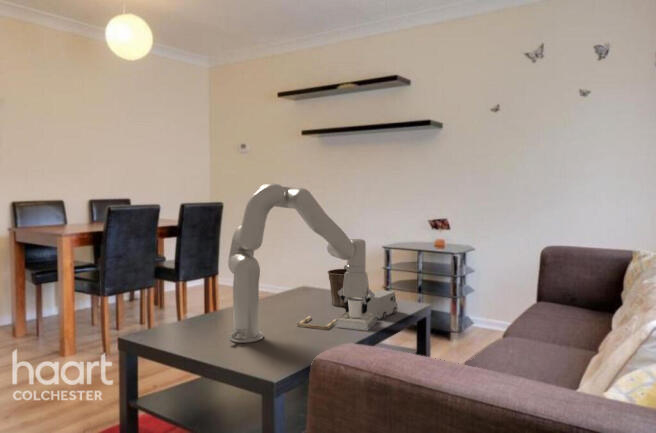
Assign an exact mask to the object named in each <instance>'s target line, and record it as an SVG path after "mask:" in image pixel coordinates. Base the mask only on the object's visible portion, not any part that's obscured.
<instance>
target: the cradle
mask: <svg viewBox="0 0 656 433" xmlns="http://www.w3.org/2000/svg"><path fill="white" fill-rule="evenodd" d="M337 319H338V318H334V319H333V320H331V321H330V322H328V323H327V324H326V325H321V324H313V323H312V324H311V323H307V322H309V321H310V320H312V315H309V316H306V318H303V319H302V320H301V321H299V322H298V323H297V324H296V326H297V327H299V328H310V329H315V330H324V331H325V330H326V331H327V330H328V329H330V328H331V327H332V326H335V320H337Z"/></svg>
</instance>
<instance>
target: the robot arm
mask: <svg viewBox="0 0 656 433" xmlns="http://www.w3.org/2000/svg"><path fill="white" fill-rule="evenodd" d="M246 203H247V204H246V206H245V208H244V212H243V217H242V223H241V224H240V225H239V226H238V227H237V228H236V229H235V230H234V232H233V235H232V239H231V243H230V248H229V249H230V250H229V254H228V255H229V256H228V261H227V262H228V268H229V270H230V272H231V273H232V274H233V281H232V282H233V284H232V301H233V302H232V304H233V307H232V308H233V313H232V314H233V316H232V318H233V321H232V322H233V328H232V332H231V333H229V334H228V335H227V339H228V340H230V341H231V342H235V343H238V344H239V343H241V344H243V343H245V344H247V343H255V342H258V341H260V340H263V338H264V333H263V331H260V296H259V295H260V293H259V292H260V291H259V290H260V276H261V267H260V263H259V261H258V260H257V258H256V257H254V254H255V251H257V250H259V249H260V248H261V246H262V244H263V239H264V234H265V227H266V222H267V219H268V216H269V213H270V211H271V210H272V209H273V208H274V207H275V208H276V207H277V208H283V209H284V208H285V209H294V210H295V211H296V212H297V214H299V216H300V217H301V218H302V219H303V221H304V222H305V223H306V225H307V226H308V228H310V230H311V231H312V232H313V233H315V234H317V235H318V236H320V237H322V238H323V239H324V240H325V241H326V242H327V246H326V249H327V252H328V254H329V255H330V256H331V257H334V258H335V259H340V260H343V261H346V265H344V266H343V269H346V270H347V272H345V275H344V282H343V288H342V289H341V290H339V291H338V294H339V295H340V296H341V298H342V299H343V300H344V302H345V307H344V310H345V312H348V311H349V307H348V298H350V297H354V298H362V300H363V304H362V313H363V314H365V313H366V312H367V303H368V302H369V301H370V300H371V299H372V298H373V297H374V296H375V294H374V293H373V292H374V291H372V290H371V289H370V286H369V278H368V272H366V250H367V249H366V241H365V240H364V239H361V238H352V239H350V238H349V237H348V236H347V235H348V234H346V233H345V232H344V230H343V229H342V228H341V227H340V226H339V225H338V224H337V223H336V222H335V221H334V220H333V219H332V218H331V217H330V216H329V215H328V214H327V213H326V212H325V210H324V209H323V208H322V206H321V205H320V204H319V202H318V201H317V200H316V199H315V197H314V196H313V195H312V193H311V192H310V191H309V190H308V189H306V188H303V187H287V186H282V185H281V184H278V183H264V184H262V185H261V186H260V187H259V188H258V189H257V191H256V192H255V193H253V195H252V196H251V197H250V198H249V199H248V202H246ZM342 292H343V293H342ZM368 294H369V295H370V297H369V298H368V299H367V297H366V296H368Z"/></svg>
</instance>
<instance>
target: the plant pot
mask: <svg viewBox="0 0 656 433" xmlns="http://www.w3.org/2000/svg"><path fill="white" fill-rule="evenodd" d="M345 272H347V270H346V269H344V268H334V269H330V270H328V271H327V274H328V280H329V284H330V286H329V287H330V294H331V304H332V305H333V306H334V307H344V308H345V302H344V300H343V299H342V298H341V296H340V295H339V294H338V291H339V290H341V289H342V288H343V282H344V275H345ZM342 293H343V292H342ZM350 298H351V297H350Z"/></svg>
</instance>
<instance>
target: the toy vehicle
mask: <svg viewBox="0 0 656 433" xmlns="http://www.w3.org/2000/svg"><path fill="white" fill-rule="evenodd" d="M372 292H373V293H374V294H375V296H374V297H373V298H372V299H371V300H370V301H369V302H368V303H367V312H366V313H374V316H377V320H381V319H386V318H387V316H389V315H391V314H394V315H395V314H396V313H397V310H398V309H399V308H398V305H399V304H398V302H397V301H396V300H397V299H396V293H395V291H391V290H383V289H379V290H375V291H372ZM366 297H367V299H368V298H369V297H370V295H369V294H368V296H366Z"/></svg>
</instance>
